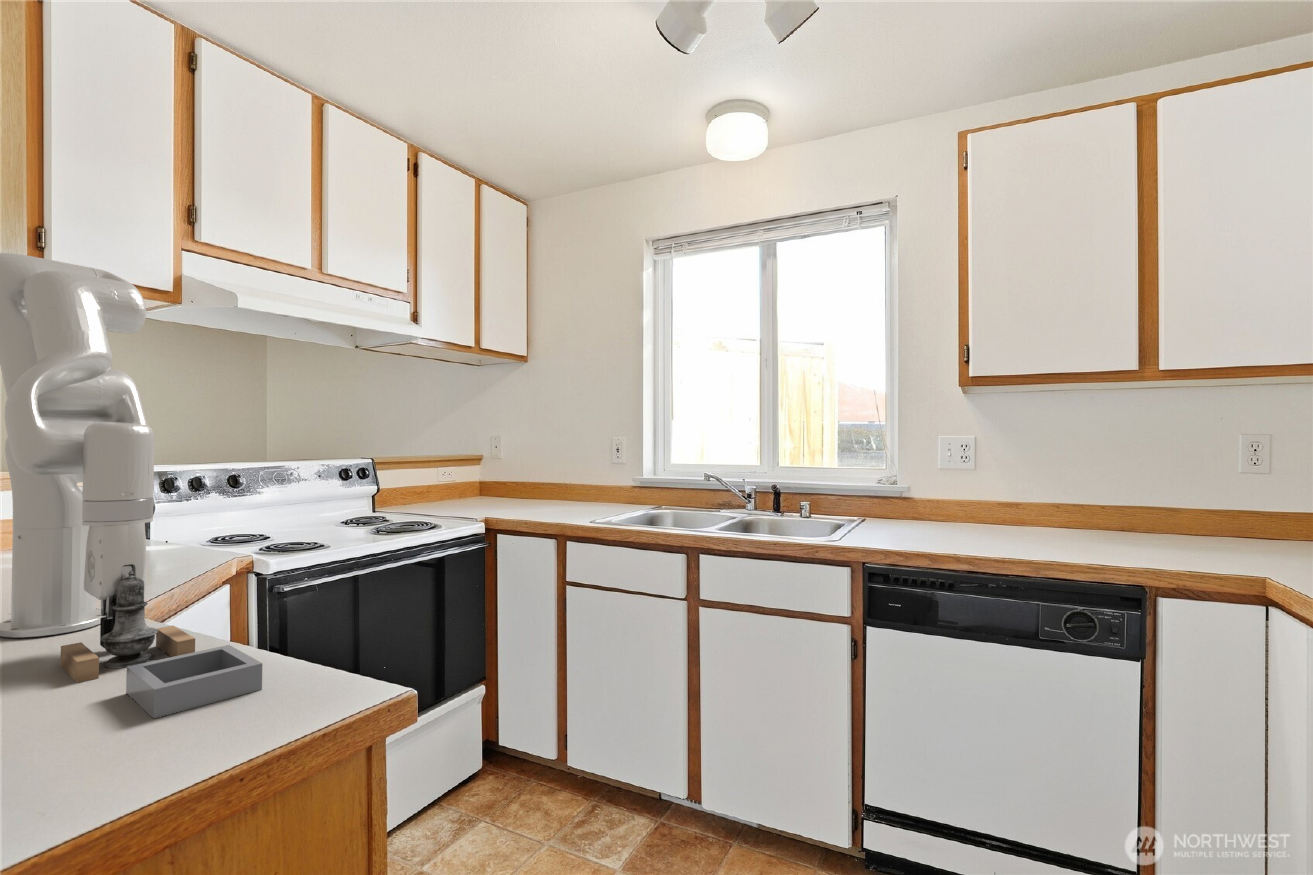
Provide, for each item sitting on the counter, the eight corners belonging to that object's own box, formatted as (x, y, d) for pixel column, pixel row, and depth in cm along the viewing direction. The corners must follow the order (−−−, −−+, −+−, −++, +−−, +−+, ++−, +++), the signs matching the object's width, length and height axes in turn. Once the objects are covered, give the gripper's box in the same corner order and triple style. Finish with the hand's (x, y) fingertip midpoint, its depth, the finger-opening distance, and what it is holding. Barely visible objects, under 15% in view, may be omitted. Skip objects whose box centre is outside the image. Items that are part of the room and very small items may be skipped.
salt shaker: (124, 671, 81) (126, 576, 81) (87, 666, 82) (89, 573, 82) (168, 655, 87) (170, 567, 87) (133, 652, 88) (135, 564, 88)
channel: (60, 665, 83) (60, 646, 83) (172, 642, 92) (173, 625, 92) (77, 682, 77) (77, 661, 77) (194, 656, 87) (195, 638, 87)
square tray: (126, 693, 74) (126, 666, 74) (228, 668, 82) (228, 644, 82) (154, 718, 68) (154, 689, 68) (261, 689, 76) (262, 663, 76)
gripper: (69, 510, 90) (67, 640, 90) (97, 519, 81) (94, 664, 81) (136, 506, 96) (134, 628, 96) (169, 514, 87) (167, 649, 87)
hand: (116, 644), depth 88 cm, fingers closed
